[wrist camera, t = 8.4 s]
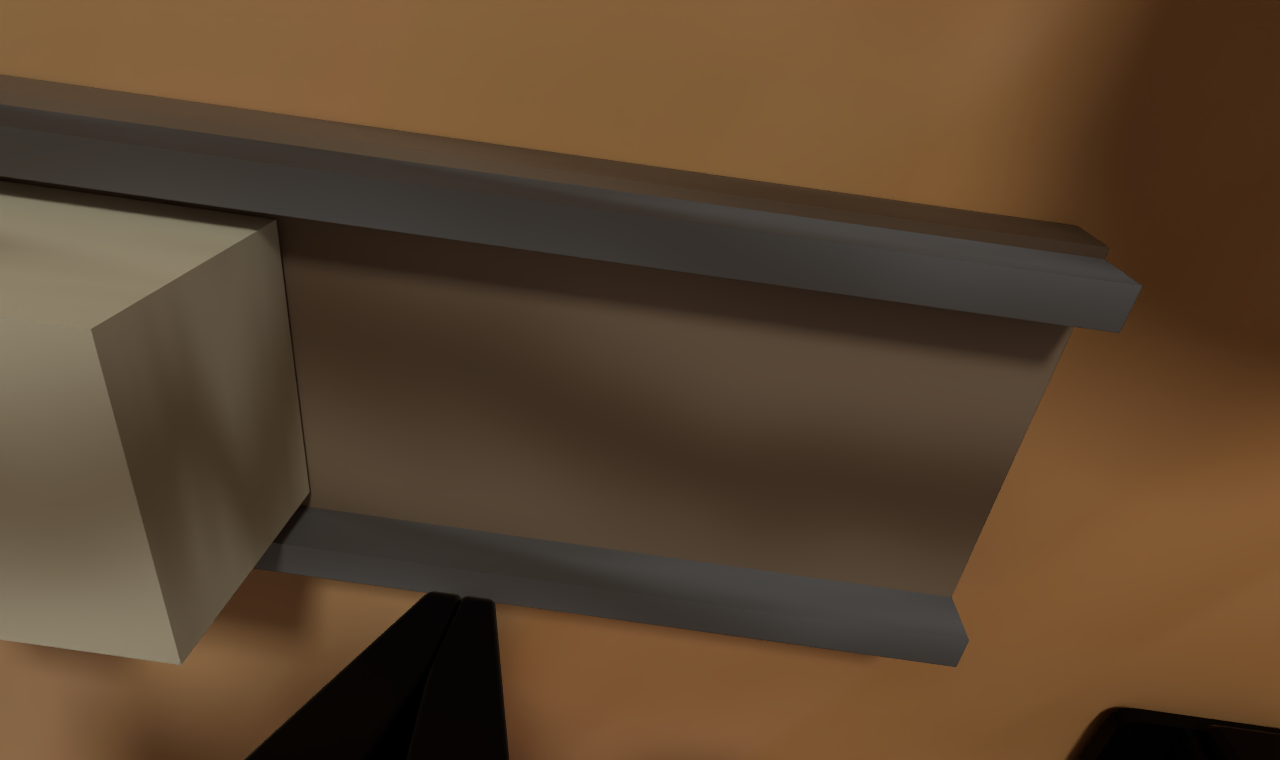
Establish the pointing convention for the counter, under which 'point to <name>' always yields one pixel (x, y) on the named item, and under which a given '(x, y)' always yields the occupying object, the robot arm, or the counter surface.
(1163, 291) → the counter surface
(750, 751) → the counter surface
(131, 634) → the block
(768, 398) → the track
